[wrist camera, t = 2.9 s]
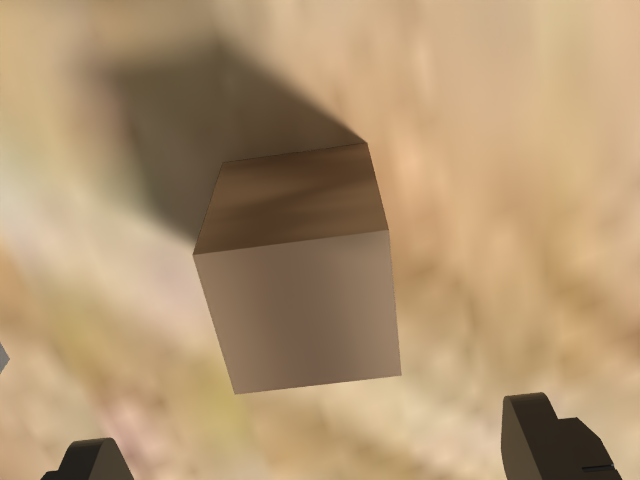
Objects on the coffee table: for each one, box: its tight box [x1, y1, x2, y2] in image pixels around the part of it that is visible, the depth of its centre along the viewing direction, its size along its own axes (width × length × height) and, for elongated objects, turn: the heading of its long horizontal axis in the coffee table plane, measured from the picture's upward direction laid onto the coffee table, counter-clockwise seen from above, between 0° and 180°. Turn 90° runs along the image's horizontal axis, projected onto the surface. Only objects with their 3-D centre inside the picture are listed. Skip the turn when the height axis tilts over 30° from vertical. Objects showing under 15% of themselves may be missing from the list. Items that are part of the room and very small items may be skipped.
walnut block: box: [193, 143, 401, 394], centre depth 18 cm, size 5×5×6 cm
